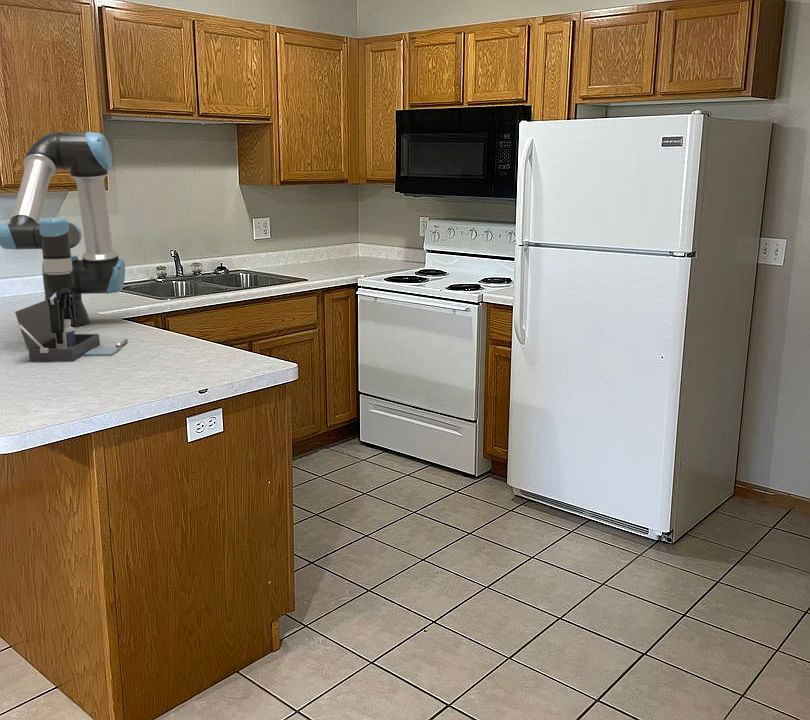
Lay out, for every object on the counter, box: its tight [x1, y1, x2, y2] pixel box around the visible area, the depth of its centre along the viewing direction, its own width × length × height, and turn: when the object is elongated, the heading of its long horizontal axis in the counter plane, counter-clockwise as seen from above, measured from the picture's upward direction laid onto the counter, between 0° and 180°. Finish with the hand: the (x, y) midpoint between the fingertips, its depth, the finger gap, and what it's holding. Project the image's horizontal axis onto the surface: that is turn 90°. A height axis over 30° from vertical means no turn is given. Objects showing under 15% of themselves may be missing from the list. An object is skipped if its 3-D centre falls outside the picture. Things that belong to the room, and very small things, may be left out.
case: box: [14, 299, 101, 363], centre depth 237 cm, size 22×15×14 cm, turn 1°
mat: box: [83, 347, 122, 357], centre depth 239 cm, size 8×8×1 cm
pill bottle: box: [55, 319, 76, 349], centre depth 238 cm, size 5×5×10 cm
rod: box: [115, 338, 129, 348], centre depth 249 cm, size 8×1×1 cm, turn 1°
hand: (66, 351), depth 239 cm, fingers closed on pill bottle, 5 cm apart
